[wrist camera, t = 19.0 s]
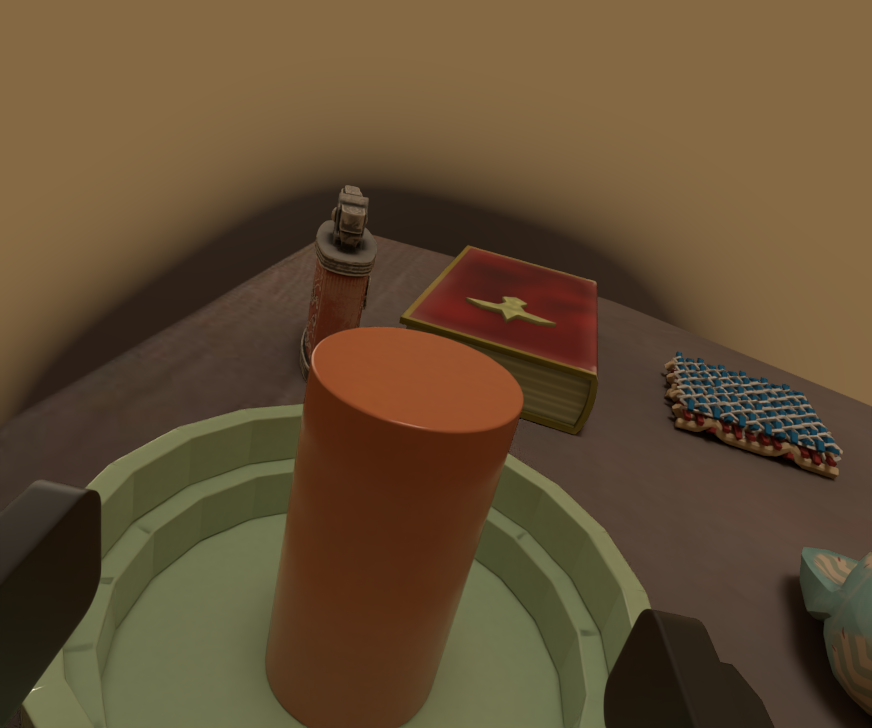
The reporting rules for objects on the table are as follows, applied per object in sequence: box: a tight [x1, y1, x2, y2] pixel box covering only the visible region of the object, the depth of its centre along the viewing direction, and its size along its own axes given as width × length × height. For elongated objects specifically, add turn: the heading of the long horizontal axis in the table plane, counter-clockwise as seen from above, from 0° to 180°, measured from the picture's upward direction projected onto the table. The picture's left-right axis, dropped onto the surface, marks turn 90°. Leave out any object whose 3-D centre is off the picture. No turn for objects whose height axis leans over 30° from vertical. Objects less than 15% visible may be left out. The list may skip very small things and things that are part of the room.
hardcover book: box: [399, 246, 598, 434], centre depth 46 cm, size 12×21×4 cm, turn 166°
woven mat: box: [665, 352, 843, 479], centre depth 43 cm, size 10×11×2 cm
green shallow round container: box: [20, 404, 651, 728], centre depth 19 cm, size 17×17×4 cm
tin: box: [265, 327, 524, 728], centre depth 17 cm, size 5×5×10 cm
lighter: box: [299, 186, 377, 382], centre depth 36 cm, size 8×3×10 cm, turn 8°
